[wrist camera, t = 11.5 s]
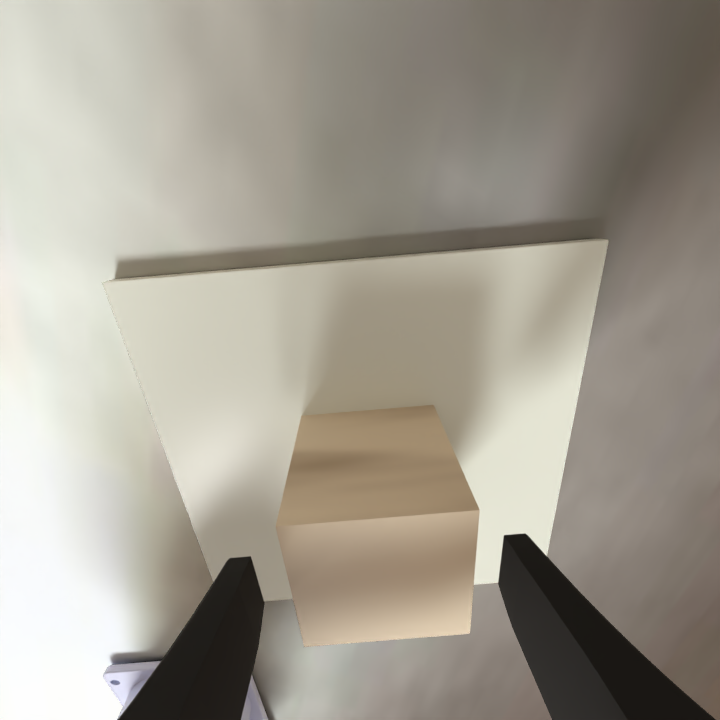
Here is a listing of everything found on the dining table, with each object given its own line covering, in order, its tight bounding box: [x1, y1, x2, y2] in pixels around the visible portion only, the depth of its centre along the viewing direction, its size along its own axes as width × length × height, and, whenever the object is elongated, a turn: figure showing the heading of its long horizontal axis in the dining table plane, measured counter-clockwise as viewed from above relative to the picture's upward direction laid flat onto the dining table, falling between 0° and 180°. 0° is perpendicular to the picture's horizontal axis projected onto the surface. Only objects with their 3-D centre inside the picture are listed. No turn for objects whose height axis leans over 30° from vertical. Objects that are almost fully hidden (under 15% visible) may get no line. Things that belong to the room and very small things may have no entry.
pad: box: [102, 239, 609, 601], centre depth 14 cm, size 16×16×1 cm
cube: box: [276, 405, 480, 647], centre depth 12 cm, size 5×5×5 cm
